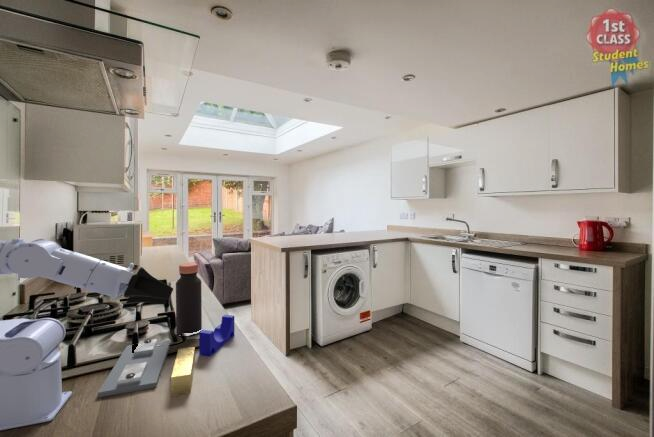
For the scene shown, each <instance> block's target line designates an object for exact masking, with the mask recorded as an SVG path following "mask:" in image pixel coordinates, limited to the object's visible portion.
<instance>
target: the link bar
mask: <svg viewBox="0 0 654 437" xmlns="http://www.w3.org/2000/svg"><path fill="white" fill-rule="evenodd" d="M195 348H196V347H195V346H191V347H190V346H189V347H183V348H178V350H177V353H176V358H175V361H174V365H173V369H172V372H171V376H170V383H171V384H170V394H171V395H170V396H171V397H173V396H178V395H184V394H189V393H192V386H193V379H194V373H195V366H196V365H195V364H196V363H195V362H196V349H195Z"/></svg>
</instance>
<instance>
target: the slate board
mask: <svg viewBox="0 0 654 437" xmlns="http://www.w3.org/2000/svg"><path fill="white" fill-rule="evenodd" d="M170 342H171V343H172V340H171V339H168V340H157V345H164V346H161V347H156V348H155V350H154V352H153V354H151V355H144V356H137V357H134V353H132V345H133V344H129V345H127V346H126V347H125V349H124V350H123V352H122V354H121V355H120V356H119V358H118V360H116V363H115V364H114V365H113V368H112V369H111V371H110V372H109V373H108V376H107V377H106V379H105V381H103V383H102V384H101V387H100V388H99V390H98V391H97V398H102V397H108V396H109V397H110V396H114V395H119V394H125V393H131V392H138V391H143V390H148V389H154V388H157V386H158V383H159V380H160V377H161V375H162V371H163V369H164V365H165V362H166V359H167V356H168V354H167V353H169V351H168V348H169V344H170ZM157 345H156V346H157ZM169 349H170V348H169ZM144 362H147V369H146V371H145V374H144V376H143V378H142V381H141V383H135V384H129V385H123V386H118V383H117V381H118V379H119V377H120V375H121V373H122V372H123V370H124V368H125V366H126V365H130V364H137V363H144Z"/></svg>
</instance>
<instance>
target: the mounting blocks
mask: <svg viewBox="0 0 654 437" xmlns="http://www.w3.org/2000/svg"><path fill="white" fill-rule="evenodd" d="M157 342H158V338H153V339H151V338H150V339H145V340H139V341H138V343H137V344H138V346H137V347H136V349H135V350H134V357H137V356H144V355H151V354H153V352H154V350H155V348H156V345H157ZM146 369H147V362H144V363H137V364H130V365H126V366H125V368H124V370H123V372H122V373H121V375H120V377H119V379H118V381H117V383H118V386H123V385H129V384H135V383H141V381H142V378H143V376H144V374H145V371H146Z"/></svg>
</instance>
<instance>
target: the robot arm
mask: <svg viewBox="0 0 654 437" xmlns="http://www.w3.org/2000/svg"><path fill="white" fill-rule="evenodd" d="M128 264H129V265H128V266H127V267H125V266H122V265H119V264H116V263H112V262H109V261H105V260H102V259H99V258H96V257H93V256H90V255H87V254H84V253H80V252H78V251H72V250H69V249H65V248H62V246H61V245H60V244H59V243H58V242H56V241H53V240H50V239H44V238H39V239H38V238H37V239H35V240H32V241H30V242H26V241H24V238H19V237H15V238H13V239H12V238H11V240H0V275H12V274H15V275H17V278H18V279H19V278H21V279H32V278H36V277H40V278H43V279H48V280H51V281H55V282H57V283H61V284H64V285H68V286H71V287H76V288H80V289H83V290H86V291H90V292H93V293H97V294H101V295H103V296H107V297H111V298H112V299H115V300H117V299H118V298H120V296H121V295H123V297H124V298H127V300H126V302H125V303H126V304H127V305H129V304H139V303H146V304H156V305H157V304H158V305H166V303H167V301H168V300H169V299H170V297H171V295H172V294H173V291H174V287H171V286H170V285H169V284H166V283H165V282H163V281H162V280H160V279H157V278H156V277H154V276H153V275H151V274H150V273H149V272H148V271H147V270H146V269H145V268H144V267H143V266H140V267H139V269H138V271H137V272H136V273H134V272H133V269H134V267H135V263H134V262H130V263H128ZM65 337H66V328H65V325H64V324H63V323H62V321H60V320H58V319H56V318H53V317H42V318H36V319H29V318H25V317H23V318H14V319H13V318H12V319H5V320H0V431H4V430H10V429H14V428H20V427H25V426H30V425H37V424H41V423H46V422H50V421H52V420H53V419H54V418H55V417H56V415H57V414H58V413H59V411H60V410H62V409H61V408H62V407H63V406H64V405H65V404H66V402H67V401H68V400H69V398H70V397H71V396H72V395H73V391H70V390H69V391H63V387H62V384H63V383H62V355H61V354H62V353H61V352H60V350H59V345H60V344H61V343H62V342H63V340H64V339H65Z"/></svg>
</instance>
